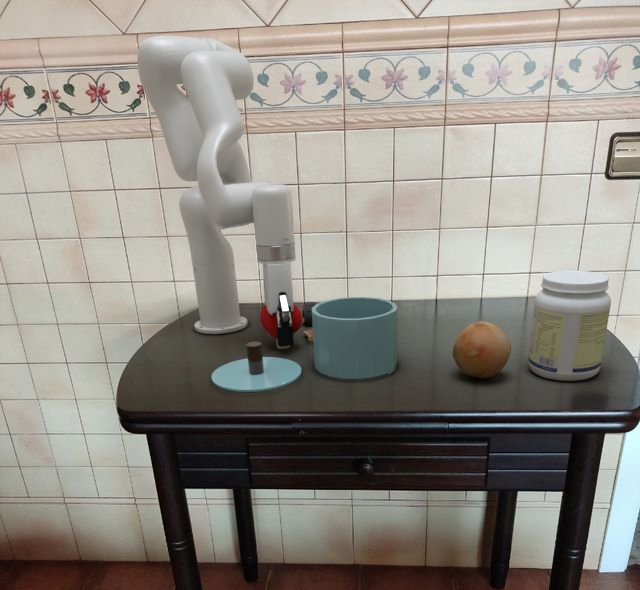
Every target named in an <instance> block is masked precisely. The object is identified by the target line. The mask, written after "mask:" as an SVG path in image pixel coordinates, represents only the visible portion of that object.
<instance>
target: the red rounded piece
mask: <svg viewBox="0 0 640 590" xmlns="http://www.w3.org/2000/svg"><path fill="white" fill-rule="evenodd" d="M290 308H291V306H290ZM278 311H282V310H278ZM290 312H291V311H290ZM290 314H291V321H292V326H293V335H294V334H295V333H298V331H299V330H300V329H301V327H302V325H303V321H304V318H303V316H302V310H301V309H300V308H299V307H298V306H297V305H296V304H295V303H293V311H292V312H291V313H290ZM281 316H282V315H281ZM281 316H280V317H281ZM259 320H260V324H261V326H262V328H263V329H264V330H265V332H266V333H268V334H269V335H270V336H271V337H272V338H274V339H275V340H276V348H277V349H279V350H287V349H289V348H290V347H291V345H290V346H281V347H280V346H278V340H277V328H276V327H278V324H277V317H276V313H273V315H271V314H269V312H268V310H267V306H266V305H265V304H264V305H263V307H262V308H261V310H260V314H259Z"/></svg>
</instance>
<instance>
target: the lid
mask: <svg viewBox="0 0 640 590" xmlns="http://www.w3.org/2000/svg"><path fill="white" fill-rule="evenodd" d="M245 344H246V345H245V348H246V358H242V359H238V360H234V361H231V362H228V363H226V364H223V365H221V366H219V367H218V368H216V369H214V371H213V372H212V374H211V382H212V384H213V385H214V386H215V387H217V388H219V389H222V390H225V391H229V392H235V393H260V392H267V391H271V390H272V391H273V390H277V389H281V388H284V387H286V386H288V385H291V384H293V383H295V382H296V381H297V380H299V378H301V375H302V372H303V370H302V367H301V365H300V364H299V363H298V362H296V361H293V360H291V359H287V358H283V357H276V356H263V347H262V345H263V344H262V342H261V341H250V342H247V343H245Z"/></svg>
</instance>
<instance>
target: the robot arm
mask: <svg viewBox="0 0 640 590" xmlns="http://www.w3.org/2000/svg"><path fill="white" fill-rule="evenodd" d="M136 58H137V59H136V60H137V61H136V62H137V71H138V76H139V80H140V84H141V87H142V90H143V92H144V94H145V96H146V98H147V100H148V102H149V104H150V105H151V108H152V109H153V111H154V113H155V115H156V117H157V120H158V122H159V125H160V129H161V132H162V136H163V137H164V142H165V144H166V147H167V151H168V154H169V157H170V160H171V163H172V166H173V169H174V171H175V173H176V175H177V176H178V177H179V178H180V180H182V181H184V182H185V181H186V182H197V184H198V185H195V186H192V187H189V188H187V189H185V190H184V191H183V192H182V194H181V196H180V198H179V202H178V203H179V204H178V205H179V206H178V207H179V212H180V216H181V219H182V222H183V225H184V229H185V232H186V236H187V240H188V246H189V251H190V258H191V265H192V273H193V279H194V286H195V293H196V300H197V307H198V314H199V320H197V321H195V323H194V325H193V326H194V327H193V328H194V331H196V332H198V333H200V334H204V335H223V334H231V333H235V332H238V331H241V330H243V329H244V328H246V327H247V326H248V324H249V323H248V319H247V318H246V317H245V316H243V315H242V316H241V311H240V300H239V292H238V284H237V273H236V264H235V263H236V262H235V256H234V249H233V247H232V245H231V243H230V242H229V240H228V239H227V238H226V236H225V235H224V233H223V232H222V231H223V230H226V229H232V228H233V229H234V228H239V227H244V226H248V225H250V224H253V225H254V226H253V228H254V237H255V238H254V239H255V246H256V248H255V249H256V258H257V263H259V264H262V280H263V282H262V283H263V294H264V296H263V297H264V306H265V305H266V306H267V310H268V312H269V314H271V315H273V313H276V317H277V324H278V327H276V328H277V340H278V346H280V347H281V346H290V347H291V346H294V345H295V342H294V341H295V339H294V334H293V326H292V321H291V314H290V313H291V312H292V311H293V304H294V291H293V277H292V275H293V274H292V266H291V263H292V262H295V261H296V260H297V256H296V241H295V239H296V238H295V225H294V211H293V210H294V209H293V196H292V190H291V188H290V187H289V186H288V185H286V184H282V183H281V184H280V183H273V184H271V183H268V182H267V181H266V182H265V181H253V182H252V178H251V174H250V171H249V168H248V164H247V160H246V157H245V153H244V151H243V148H242V146H241V144H240V142H239V140H240V139H241V138H242V137H243V135H244V133H245V130H246V129H245V128H246V125H245V122H244V119H243V116H242V114H241V111H240V109H239V106H238V102H237V101H239V100H242V101H243V100H246V99H247V98H249V97H250V96H251V94H252V92H253V91H254V84H255V83H254V82H255V77H254V72H253V69H252V66H251V64H250V61H248V59H247V58H246V57H245V55H244V54H243V53H242V52H240V51H239V50H238V49H235V48H233V47H232V46H229V45H227V44H225V43H223V42H221V41H219V40H217V39H215V38H211V37H203V36H202V37H201V36H183V35H166V34H165V35H154V36H151V37H148V38H146V39H144V40H143V41H142V42H141V44H140V45H139V47H138V51H137V57H136ZM178 85H183V86H184V89H185V91H186V94H185V93H184V92H183V91H182V90H180V88H179V87H178ZM290 306H291V308H290ZM278 310H282V311H278ZM290 311H291V312H290ZM281 315H282V316H281ZM280 316H281V317H280ZM277 340H276V341H277Z"/></svg>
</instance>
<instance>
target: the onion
mask: <svg viewBox="0 0 640 590" xmlns="http://www.w3.org/2000/svg"><path fill="white" fill-rule="evenodd" d="M511 353H512V344H511V341H510V340H509V338H508V336H507V335H506V333H505V332H504V331H503V330H502V329H501V328H500V327H499V326H497V325H495V324H494V323H491V322H488V321H484V320H478V321H475V322H472V323H471V324H469V325H467V326H466V327H465V328H464V329H463V330H462V331H461V332H460V333H459V335H458V336H457V337H456V339H455V342H454V345H453V347H452V358H453V360H454V362H455V364H456V366H457V367H458V369H459V370H460V371H461V372H462V373H463V374H465V375H466V376H468V377H472V378H476V379H477V378H478V379H489V378H492V377H494V376H495V375H498V373H499V372H501V371H502V370H503V369H504V368H505V366H506V365H507V363H508V361H509V359H510V357H511Z"/></svg>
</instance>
